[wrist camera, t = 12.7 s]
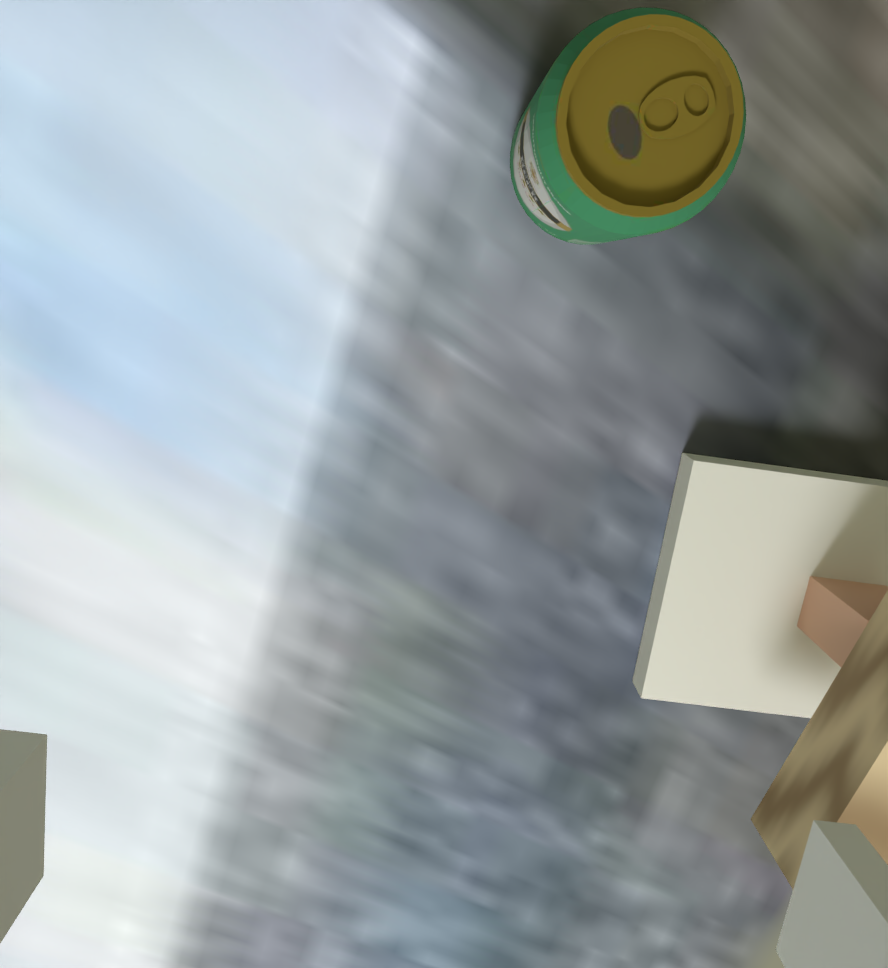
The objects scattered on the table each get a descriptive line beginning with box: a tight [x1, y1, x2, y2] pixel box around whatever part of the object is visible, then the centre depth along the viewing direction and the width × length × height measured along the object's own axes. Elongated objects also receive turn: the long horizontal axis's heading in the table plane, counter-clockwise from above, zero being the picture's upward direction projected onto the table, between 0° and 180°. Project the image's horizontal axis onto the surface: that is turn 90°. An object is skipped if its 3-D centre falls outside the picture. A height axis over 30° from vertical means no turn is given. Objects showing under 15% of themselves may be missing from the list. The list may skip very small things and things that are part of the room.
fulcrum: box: [633, 453, 888, 718], centre depth 43 cm, size 14×20×8 cm
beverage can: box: [510, 8, 746, 244], centre depth 35 cm, size 8×8×12 cm
